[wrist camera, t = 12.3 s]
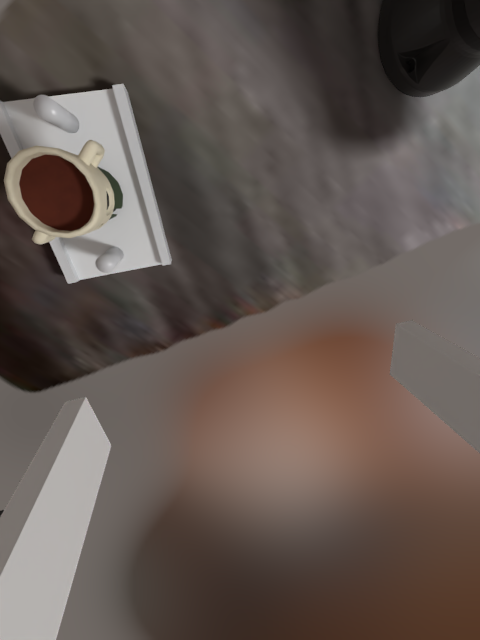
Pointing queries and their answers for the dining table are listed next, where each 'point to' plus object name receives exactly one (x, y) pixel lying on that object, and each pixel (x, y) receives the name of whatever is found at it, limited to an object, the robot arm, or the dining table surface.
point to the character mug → (62, 191)
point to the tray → (119, 160)
